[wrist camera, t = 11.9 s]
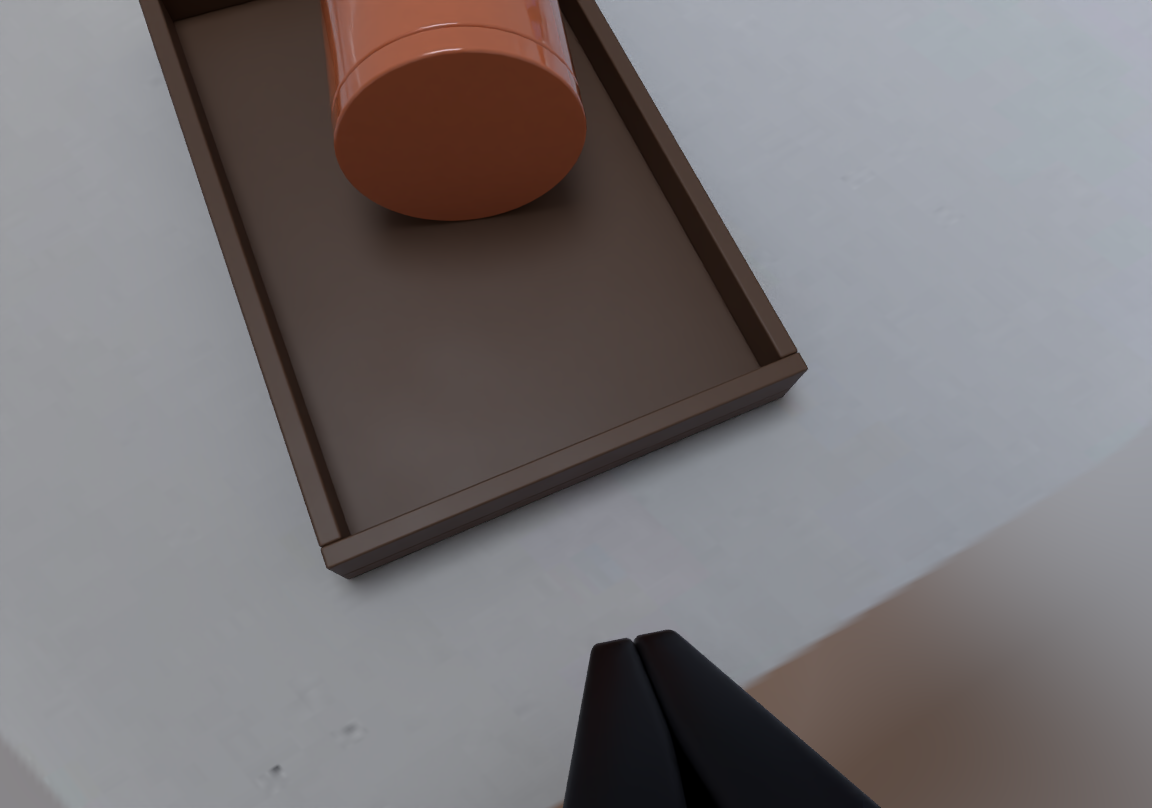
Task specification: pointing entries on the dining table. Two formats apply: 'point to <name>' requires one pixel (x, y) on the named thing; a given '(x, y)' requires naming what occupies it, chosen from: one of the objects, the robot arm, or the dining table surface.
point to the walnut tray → (461, 292)
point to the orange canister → (451, 102)
